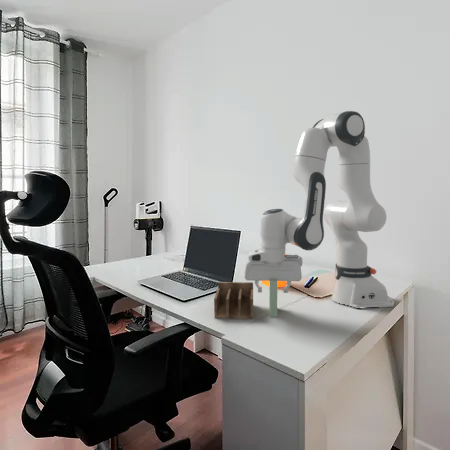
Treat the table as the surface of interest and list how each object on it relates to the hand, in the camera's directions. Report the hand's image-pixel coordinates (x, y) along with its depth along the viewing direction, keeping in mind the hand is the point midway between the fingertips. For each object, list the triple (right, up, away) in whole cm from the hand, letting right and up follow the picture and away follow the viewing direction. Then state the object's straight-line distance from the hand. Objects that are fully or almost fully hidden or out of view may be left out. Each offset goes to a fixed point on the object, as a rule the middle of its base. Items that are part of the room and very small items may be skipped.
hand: (272, 292), depth 119 cm
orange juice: (+5, -3, +33) cm, 34 cm away
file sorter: (-14, -8, +2) cm, 16 cm away
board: (0, -7, +1) cm, 8 cm away
